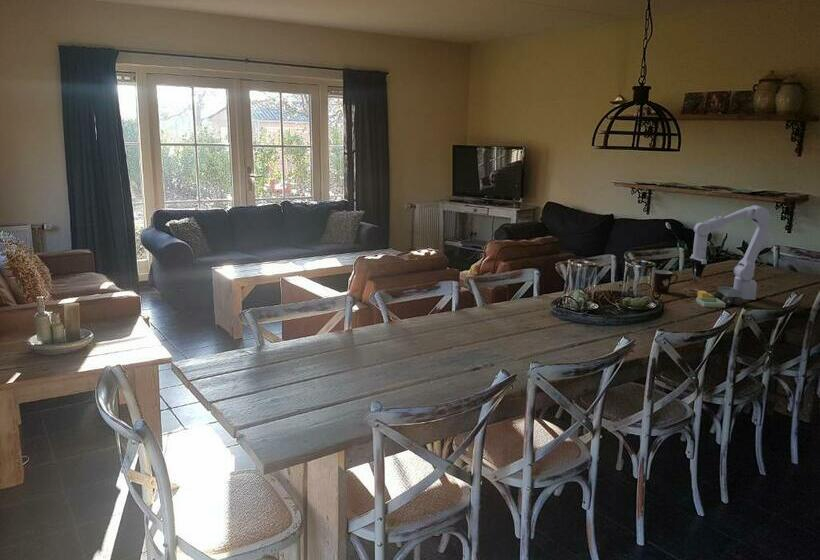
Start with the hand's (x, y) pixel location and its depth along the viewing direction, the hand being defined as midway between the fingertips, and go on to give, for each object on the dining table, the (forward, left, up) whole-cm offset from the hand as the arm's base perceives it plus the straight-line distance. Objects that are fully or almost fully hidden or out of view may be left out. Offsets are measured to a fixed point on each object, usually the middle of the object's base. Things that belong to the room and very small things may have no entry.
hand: (696, 276), depth 314 cm
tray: (-1, +16, -10) cm, 19 cm away
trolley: (-11, +11, -10) cm, 19 cm away
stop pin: (0, 0, -3) cm, 3 cm away
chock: (-2, +7, -10) cm, 13 cm away
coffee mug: (+12, -7, -10) cm, 17 cm away
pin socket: (0, -3, -10) cm, 10 cm away
